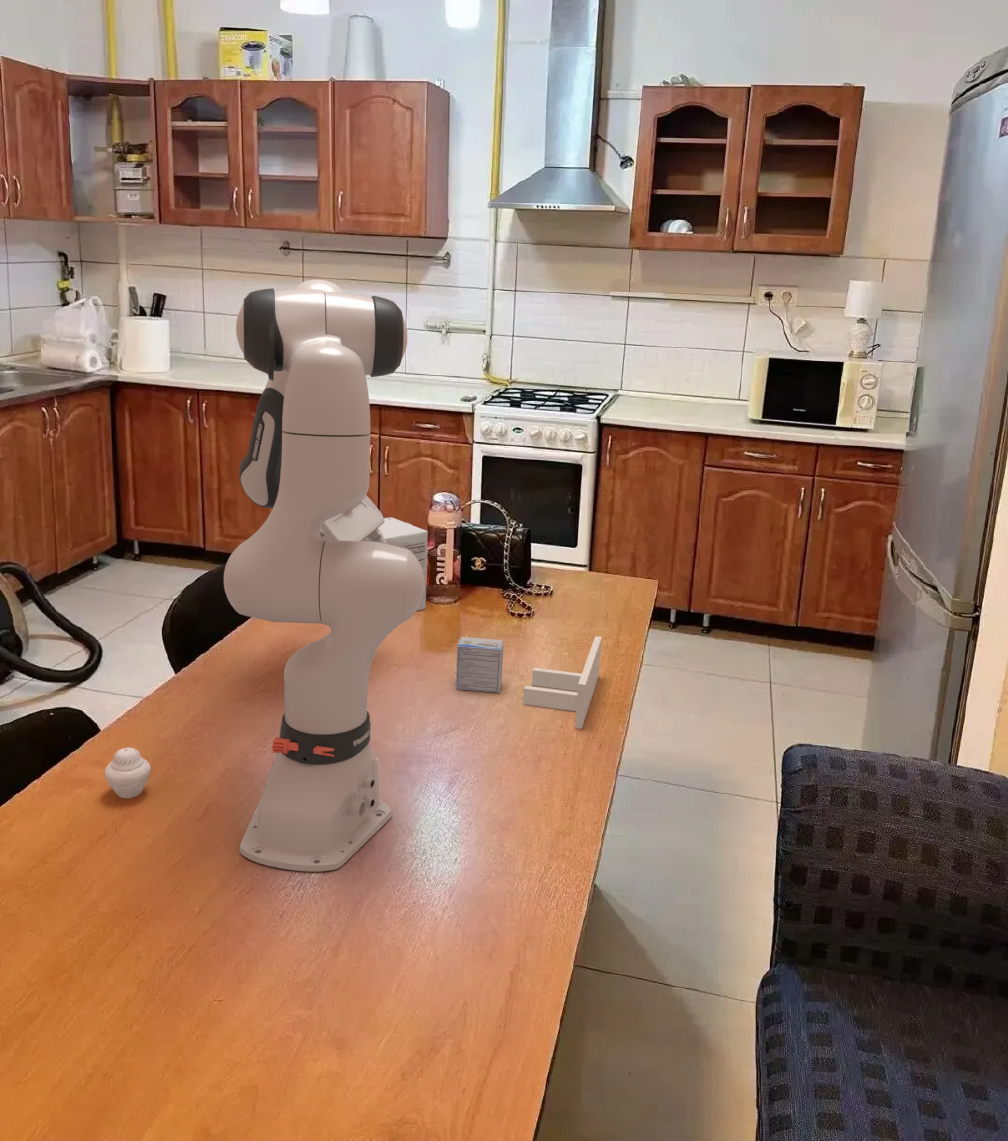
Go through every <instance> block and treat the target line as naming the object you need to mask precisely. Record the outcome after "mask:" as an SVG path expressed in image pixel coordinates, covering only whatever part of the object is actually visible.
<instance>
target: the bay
mask: <svg viewBox="0 0 1008 1141" xmlns="http://www.w3.org/2000/svg"><path fill="white" fill-rule="evenodd" d="M602 639H603V637H602V636H597V635H595V636H594V639H593V642H592V645H591V647H590V650H589V653H588V655H587V658H586V661H585V664H584V667H583V670H582V673H579V672H572V671H571V672H570V671H563V670H556V669H547V668H540V667H533V669H532V676H531V677H532V678H531V686H530V685H524V688H523V696H522V697H523V699H522V700H523V701H522V702H523V703H522V704H523V705H526V706H533V707H541V708H548V709H549V708H550V709H555V710H556V709H557V710H563V711H569V712H571V711H572V712H575V720H574V722H575V724H574V729H577V730H578V729H581V730H582V729H583V727H584V724H585V720H586V717H587V715H588V711H589V708H590V705H591V702H592V699H593V697H594V693H595V690H596V687H597V684H598V680H599V678H600V676H599V675H600V662H601V654H602V653H601V650H602Z"/></svg>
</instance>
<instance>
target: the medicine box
mask: <svg viewBox="0 0 1008 1141" xmlns="http://www.w3.org/2000/svg"><path fill="white" fill-rule="evenodd" d="M503 660H504V640H503V639H493V638H481V637H470V636H469V637H468V636H461V637H460V638H459V641H458V643H457V645H456V666H455V667H456V669H455V670H456V671H455V672H456V674H455V675H456V676H455V677H456V678H455V690H461V691H462V690H463V691H472V692H473V691H474V692H475V691H476V692H485V693H496V694H497V693H498V694H499V693H500V692H501V686H502V682H503V666H504V665H503V664H504V663H503Z"/></svg>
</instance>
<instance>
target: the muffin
mask: <svg viewBox="0 0 1008 1141" xmlns="http://www.w3.org/2000/svg"><path fill="white" fill-rule="evenodd" d="M112 757H113V759H111V761H110V762H109V763H108V765H107V766H106V767H105V770H104V778H105V780H106V781H107V784H108V785H109V786H110V788H111V789H112V790H113V791H114V793H115V794H116V795H117V796H118V797H119V798H121V799H126V800H127V799H133V798H136V797H139V795H141V793H142V792H143V790H144V788H145V786H146V784H147V782H148V780H149V777H150V774H151V771H152V770H151V769H152V767H151V764H150V763H149V761H148V760H147V759H145V758H143V757H142V756H141V753H140V752H139V750H138V749H136V748H133V747H123V748H121V749H120V748H119V750H117V751H116V752H115V753H114V755H113V756H112Z"/></svg>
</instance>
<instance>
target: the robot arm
mask: <svg viewBox="0 0 1008 1141" xmlns="http://www.w3.org/2000/svg"><path fill="white" fill-rule="evenodd" d="M235 333H236V338H237V343H238V346H239V348H240V351H241V352H242V354H243V359H244V360H245V361H246V362H247V363H248V364H249V365H250V366H251V367H252V368H254V369H256V370H258V371H259V372H262V373H263V374H264V373H265V374H266V375H267V376H268V380H267V382H266V385H265V387H264V389H263V390H262V393H261V396H260V398H259V401H258V403H257V406H256V410H255V414H254V417H253V418H254V419H253V424H252V429H251V435H250V438H249V445H248V450H247V452H246V453H247V454H246V455H245V456H244V457H243V458H242V459H241V460H240V464H239V470H238V473H239V476H238V477H239V483H240V487H241V489H242V491H243V492H244V494H245V495H246V497H247V498H248V499H249V500H250V501H251V502H252V503H254V504H255V505H257V506H259V507H262V508H266V509H271V511H270V513H269V515H268V517H267V518H266V520H265V521H264V522H263V524H262V525H261V526H260V527H259V529H258V530H256V531H255V532H254V533H253V534H252V535H251V536H250V537H249V538H247V539H245V540H244V541H243V542H241V543H240V544H239V545H238V546H237V547H236V548H235V549H234V550H233V551H232V552H231V554H230V556H229V558H228V559H227V561H226V565H225V567H224V571H223V588H224V593H225V594H226V598H227V600H228V602H229V604H230V605H231V606H232V608H233V609H234V610H235V612H237V613H238V614H239V615H242V616H245V617H250V618H254V619H258V620H262V621H267V622H272V623H289V624H290V623H294V624H295V623H296V624H322V625H325V626H328V627H329V628H330V632H329V633H327V634H326V635H325V636H324V637H321V638H320V639H317V640H315V641H313V642H310V643H307V644H306V645H304V646H302V647H300V648H299V649H297V650H296V651H295V652H294V653H293V654H292V655H291V656H290V657H289V659H288V660H287V662H286V664H285V666H284V669H283V670H284V671H283V690H284V691H283V692H284V693H283V694H284V713H283V715H282V717H281V724H280V725H279V726H280V727H279V733H278V735H279V737H278V736H276V737H274V739H273V741H272V746H271V749H272V752H273V753H275V757H274V760H273V762H272V764H271V767H270V771H269V773H268V776H267V779H266V782H265V784H264V785H265V786H264V788H263V791H262V794H261V796H260V799H259V801H258V804H257V806H256V809H255V811H254V812H253V815H252V817H251V819H250V822H249V824H248V825H247V828H246V830H245V831H244V832H245V833H244V835H243V837H242V838H241V841H240V844H239V853H240V854H241V855H242V856H243V857H245V858H246V859H248V860H251V861H253V862H255V863H257V864H261V865H265V866H268V867H271V868H273V867H274V868H278V869H282V870H290V871H298V872H299V871H300V872H311V873H312V872H327V871H333V870H337V869H339V868H341V867H343V865H344V864H346V862H348V861H349V859H350V858H352V857H353V856H354V855H355V854H356V853H357V852H358V850H360V849H361V848H362V847H363V846H364V845H365V844H366V843H367V842H368V841H369V840H371V838H372V837H373V836H374V835H375V834H376V833H377V832H378V831H379V830H380V829H381V828H382V827H383V826H384V825H385V824H386V823H387V822H388V821H389V820H390V819H391V818H392V817H393V815H392V814H393V813H392V812H393V811H392V807H390V806H389V805H388V804H387V803H385V802H384V801H383V795H382V794H383V792H382V778H381V777H382V774H381V763H380V762H381V761H380V759H379V757H377V755H376V754H375V752H374V751H373V749H372V747H371V745H370V741H371V731H372V723H371V716H370V712H369V711H368V688H369V679H370V671H371V666H372V662H373V659H374V658H375V655H376V652H377V650H378V649H379V647H380V646H381V644H382V643H383V641H384V640H385V639H386V637H387V636H388V635H389V634H391V633H392V632H393V630H395V629H396V628H397V627H399V626H401V625H402V624H403V623H404V622H407V621H408V620H409V619H410V618H411V617H413V615H414V614H415V613H416V612H417V611H416V610H417V609H418V607H419V605H420V603H421V601H422V598H423V594H424V588H425V580H424V574H423V570H422V567H421V565H420V563H419V561H418V560H417V558H416V557H415V555H414V554H413V553H412V552H411V551H410V550H409V549H405V548H401V547H397V546H393V545H389V544H387V543H386V541H385V538H384V536H383V534H382V532H381V531H380V530H379V529H378V528H379V527H380V526H381V525H382V524H383V523H384V522H385V521H384V518H385V517H384V516H383V513H382V512H381V511H380V510H379V508H378V507H377V506H376V504H375V503H374V502H373V501H372V500H371V498H369V497H368V492H369V489H370V479H371V478H370V476H371V472H370V471H371V470H370V467H371V409H370V406H371V405H370V396H369V387H368V382H367V376H370V377H371V378H377V377H382V376H383V377H384V376H388V375H392V374H394V372H396V370H397V369H398V368H399V367H400V366H401V364H402V361H403V358H404V356H405V353H406V349H407V346H408V329H407V324H406V321H405V318H404V315H403V311H402V309H401V308H400V307H399V306H398V304H396V302H394V301H393V300H390V299H388V298H386V297H382V296H381V297H380V296H379V295H378V296H377V295H372V296H371V297H367V296H364V295H358V294H352V293H346V291H345V290H344V289H342V287H340V286H339V285H338V284H336V283H334V282H332V281H329V280H326V279H309V280H305V281H303V282H300V283H299V284H297V285H296V286H295V287H294V288H293V289H282V290H280V289H279V290H275V289H274V288H264V289H263V288H262V289H259V290H255V291H251V292H249V293H248V294H247V295H246V296H245V297H244V298H243V303H242V306H241V307H240V309H239V312H238V314H237V318H236V324H235ZM367 537H368V538H369V539H370V540H371V541H373V542H369V541H363V540H364V539H366V538H367Z"/></svg>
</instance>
